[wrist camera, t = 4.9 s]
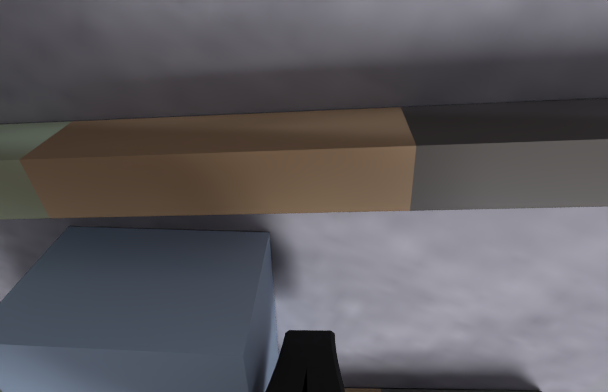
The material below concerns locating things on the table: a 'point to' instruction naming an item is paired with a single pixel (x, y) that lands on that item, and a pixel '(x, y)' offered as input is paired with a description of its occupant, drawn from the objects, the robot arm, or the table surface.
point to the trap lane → (311, 163)
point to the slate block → (142, 314)
